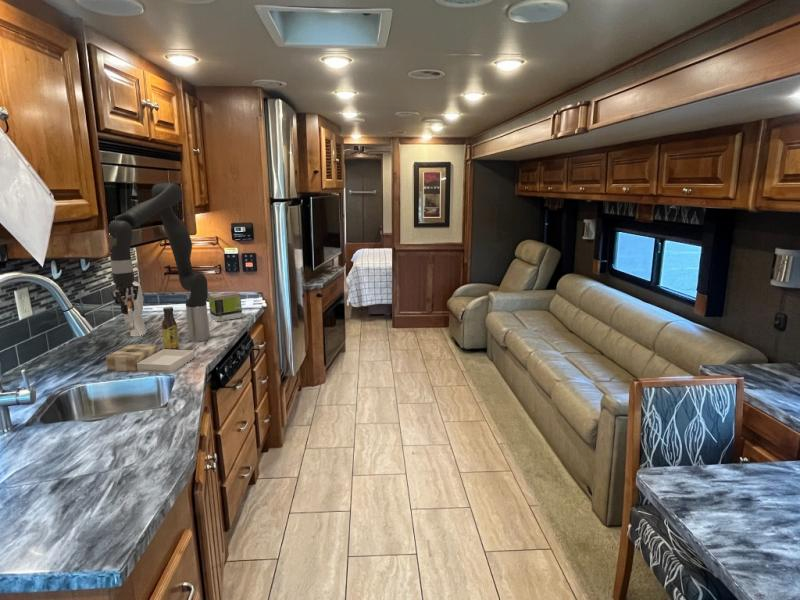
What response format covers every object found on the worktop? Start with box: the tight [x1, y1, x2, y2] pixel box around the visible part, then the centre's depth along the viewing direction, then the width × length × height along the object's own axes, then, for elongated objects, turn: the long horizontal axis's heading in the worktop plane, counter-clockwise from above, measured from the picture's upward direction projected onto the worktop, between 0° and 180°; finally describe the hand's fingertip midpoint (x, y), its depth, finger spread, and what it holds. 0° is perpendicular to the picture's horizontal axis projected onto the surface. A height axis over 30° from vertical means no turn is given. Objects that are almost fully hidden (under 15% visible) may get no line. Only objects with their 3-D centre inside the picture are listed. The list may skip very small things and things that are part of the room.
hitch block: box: [105, 343, 160, 373], centre depth 198 cm, size 16×12×6 cm
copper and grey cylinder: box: [123, 300, 135, 331], centre depth 194 cm, size 3×3×12 cm
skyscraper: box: [129, 281, 148, 337], centre depth 236 cm, size 8×8×28 cm
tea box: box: [208, 290, 243, 322], centre depth 269 cm, size 15×10×15 cm, turn 130°
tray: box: [137, 348, 195, 374], centre depth 198 cm, size 18×14×4 cm
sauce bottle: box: [161, 306, 180, 350], centre depth 214 cm, size 6×6×20 cm
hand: (128, 312), depth 194 cm, fingers closed on copper and grey cylinder, 3 cm apart
